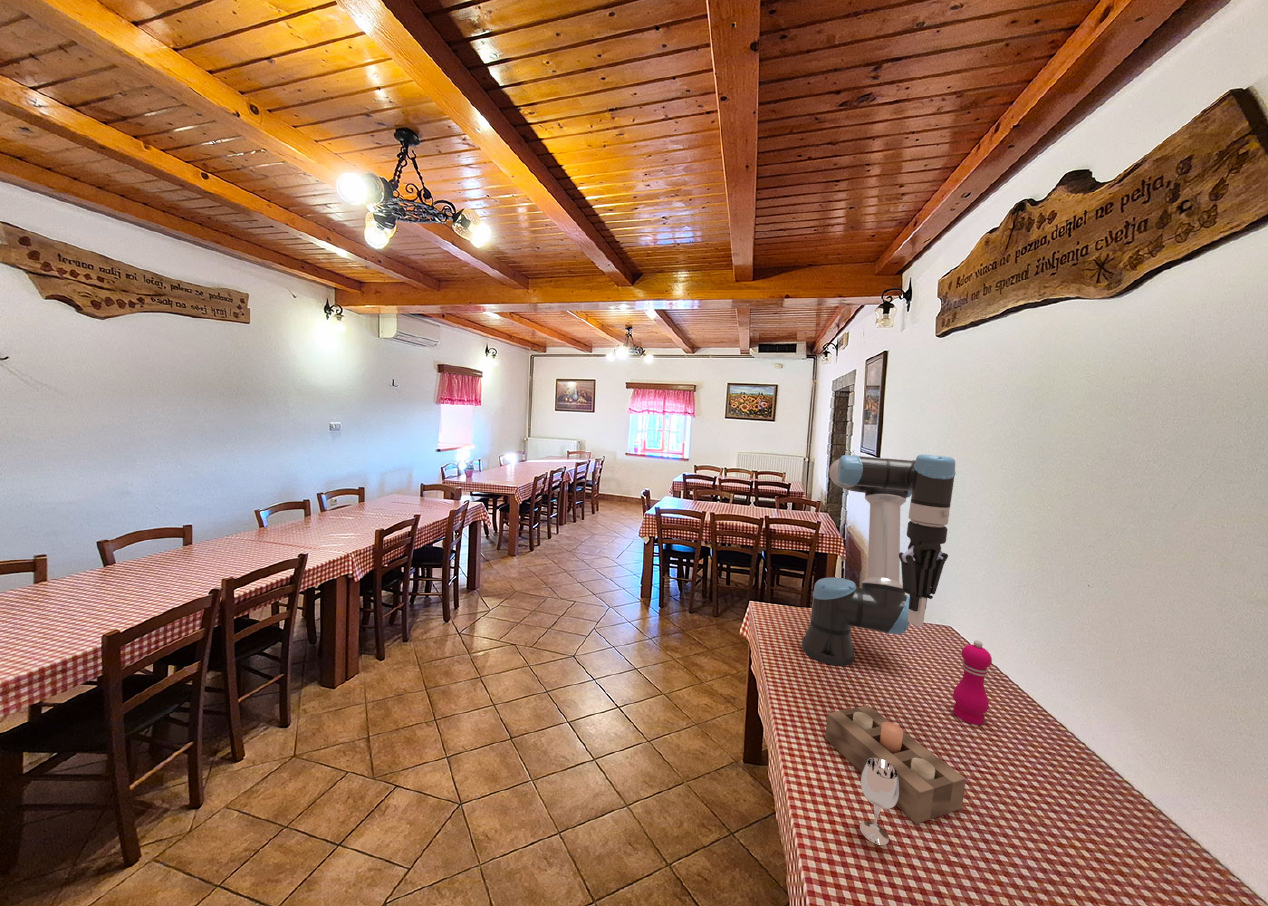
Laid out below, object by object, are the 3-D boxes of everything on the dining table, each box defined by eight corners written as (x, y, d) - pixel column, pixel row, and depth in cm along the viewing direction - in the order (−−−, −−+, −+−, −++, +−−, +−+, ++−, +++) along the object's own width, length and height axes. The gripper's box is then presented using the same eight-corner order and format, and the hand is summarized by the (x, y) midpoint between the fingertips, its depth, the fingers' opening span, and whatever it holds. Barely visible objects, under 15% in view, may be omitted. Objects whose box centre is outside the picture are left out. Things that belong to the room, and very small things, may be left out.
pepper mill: (993, 729, 108) (1004, 650, 106) (959, 723, 109) (970, 645, 108) (976, 710, 115) (986, 636, 113) (945, 705, 116) (955, 631, 115)
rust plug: (874, 750, 93) (877, 723, 92) (887, 747, 94) (891, 720, 94) (890, 764, 89) (893, 736, 89) (904, 760, 90) (907, 732, 90)
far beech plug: (846, 738, 99) (849, 713, 99) (859, 735, 101) (862, 710, 100) (860, 751, 96) (863, 724, 95) (873, 747, 97) (876, 721, 97)
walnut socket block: (824, 738, 100) (827, 713, 100) (865, 729, 104) (868, 705, 104) (916, 824, 79) (920, 792, 79) (961, 808, 84) (965, 778, 83)
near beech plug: (903, 788, 86) (907, 759, 86) (917, 784, 88) (921, 756, 87) (921, 805, 83) (925, 774, 82) (936, 800, 84) (940, 770, 84)
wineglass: (848, 818, 80) (856, 755, 79) (879, 818, 80) (886, 755, 79) (868, 849, 74) (876, 781, 73) (900, 849, 74) (909, 781, 74)
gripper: (922, 527, 95) (909, 634, 96) (964, 526, 99) (951, 628, 101) (891, 519, 102) (880, 619, 103) (932, 519, 106) (920, 614, 108)
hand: (915, 623), depth 102 cm, fingers closed
